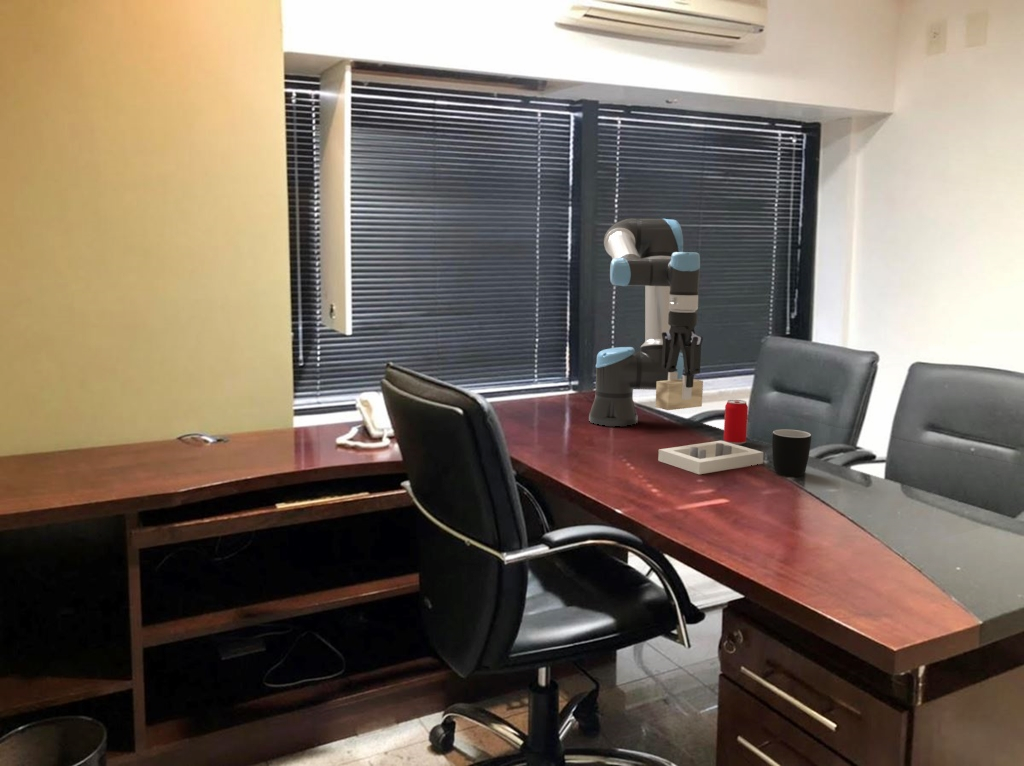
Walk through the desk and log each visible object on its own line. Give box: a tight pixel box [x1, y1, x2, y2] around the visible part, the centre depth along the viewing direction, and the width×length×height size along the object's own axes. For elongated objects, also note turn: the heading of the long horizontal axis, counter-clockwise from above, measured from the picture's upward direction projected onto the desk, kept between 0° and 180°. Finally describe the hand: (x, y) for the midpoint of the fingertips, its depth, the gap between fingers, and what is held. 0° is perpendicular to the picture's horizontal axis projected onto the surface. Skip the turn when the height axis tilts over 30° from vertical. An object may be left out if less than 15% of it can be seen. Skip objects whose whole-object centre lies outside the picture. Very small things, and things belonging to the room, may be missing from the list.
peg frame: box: [657, 440, 764, 475], centre depth 219 cm, size 15×22×4 cm
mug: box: [771, 428, 812, 478], centre depth 210 cm, size 12×9×10 cm
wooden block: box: [655, 378, 704, 411], centre depth 229 cm, size 5×12×7 cm, turn 121°
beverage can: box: [723, 399, 749, 446], centre depth 240 cm, size 6×6×12 cm
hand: (679, 397), depth 229 cm, fingers closed on wooden block, 5 cm apart
